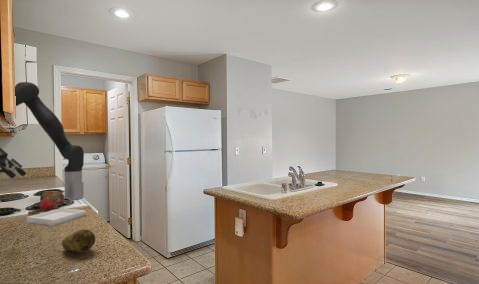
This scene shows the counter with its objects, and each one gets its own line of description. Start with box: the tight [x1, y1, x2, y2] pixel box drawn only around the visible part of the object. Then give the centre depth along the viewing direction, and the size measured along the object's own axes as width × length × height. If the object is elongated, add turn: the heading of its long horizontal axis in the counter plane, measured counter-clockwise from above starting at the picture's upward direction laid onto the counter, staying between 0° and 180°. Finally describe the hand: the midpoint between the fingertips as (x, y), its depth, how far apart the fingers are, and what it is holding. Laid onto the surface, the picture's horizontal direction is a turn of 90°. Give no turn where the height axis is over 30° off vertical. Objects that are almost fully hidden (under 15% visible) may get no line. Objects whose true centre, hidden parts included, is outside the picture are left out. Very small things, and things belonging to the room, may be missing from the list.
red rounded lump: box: [39, 197, 54, 213], centre depth 132 cm, size 6×6×8 cm
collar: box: [27, 206, 60, 216], centre depth 132 cm, size 11×11×2 cm
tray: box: [26, 207, 87, 227], centre depth 121 cm, size 16×16×2 cm
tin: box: [39, 190, 65, 208], centre depth 146 cm, size 15×3×8 cm, turn 73°
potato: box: [61, 229, 96, 253], centre depth 85 cm, size 8×13×8 cm, turn 40°
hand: (19, 175), depth 129 cm, fingers open, 8 cm apart
